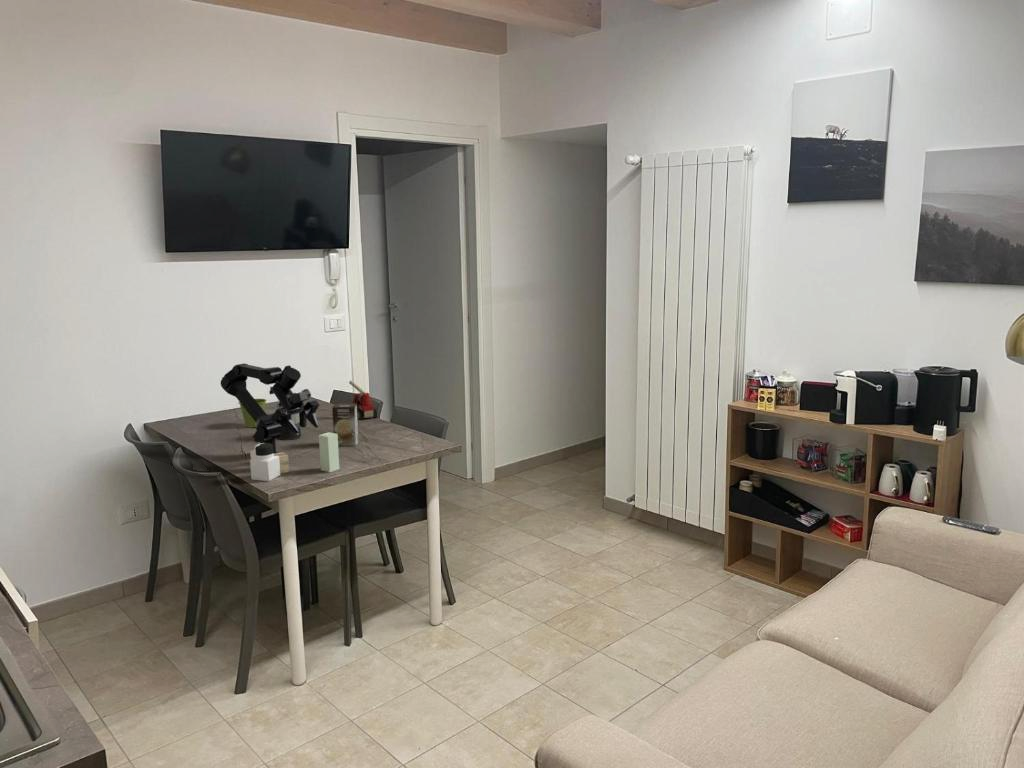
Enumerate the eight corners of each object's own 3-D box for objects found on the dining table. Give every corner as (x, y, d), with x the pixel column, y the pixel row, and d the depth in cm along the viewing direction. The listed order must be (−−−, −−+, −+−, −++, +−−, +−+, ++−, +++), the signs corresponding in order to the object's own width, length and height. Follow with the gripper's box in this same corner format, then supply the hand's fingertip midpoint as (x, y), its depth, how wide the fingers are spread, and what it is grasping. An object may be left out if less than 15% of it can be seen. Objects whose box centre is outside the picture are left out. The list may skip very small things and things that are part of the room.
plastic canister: (251, 468, 278) (250, 449, 276) (266, 466, 279) (264, 448, 278) (252, 472, 273) (250, 453, 272) (266, 470, 275) (265, 451, 273)
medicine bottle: (280, 475, 269) (278, 442, 267) (269, 481, 262) (266, 447, 260) (263, 473, 271) (260, 440, 269) (251, 479, 264) (248, 446, 262)
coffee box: (333, 446, 304) (330, 407, 301) (336, 442, 311) (333, 403, 307) (356, 446, 305) (354, 406, 301) (359, 441, 311) (357, 403, 308)
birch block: (270, 470, 274) (269, 454, 273) (284, 468, 277) (283, 452, 276) (275, 474, 270) (274, 457, 269) (289, 471, 273) (288, 455, 272)
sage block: (320, 470, 274) (318, 435, 272) (330, 466, 278) (328, 432, 275) (329, 472, 272) (327, 436, 269) (339, 468, 275) (337, 433, 273)
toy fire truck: (369, 411, 363) (367, 375, 359) (378, 418, 349) (376, 380, 345) (345, 414, 358) (343, 377, 355) (353, 421, 344) (351, 383, 341)
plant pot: (272, 422, 343) (270, 398, 341) (261, 429, 332) (259, 404, 329) (247, 422, 344) (245, 398, 342) (235, 429, 333) (233, 404, 331)
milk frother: (294, 440, 313) (292, 405, 310) (259, 439, 316) (256, 404, 313) (310, 432, 327) (308, 398, 324) (276, 430, 330) (274, 396, 327)
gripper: (274, 387, 269) (297, 422, 266) (314, 378, 285) (337, 411, 281) (261, 406, 275) (283, 440, 272) (301, 396, 291) (323, 429, 287)
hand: (307, 429), depth 278 cm, fingers open, 9 cm apart
